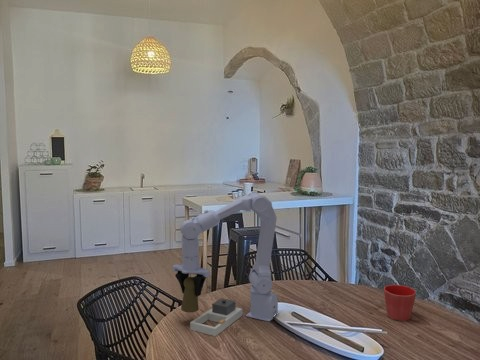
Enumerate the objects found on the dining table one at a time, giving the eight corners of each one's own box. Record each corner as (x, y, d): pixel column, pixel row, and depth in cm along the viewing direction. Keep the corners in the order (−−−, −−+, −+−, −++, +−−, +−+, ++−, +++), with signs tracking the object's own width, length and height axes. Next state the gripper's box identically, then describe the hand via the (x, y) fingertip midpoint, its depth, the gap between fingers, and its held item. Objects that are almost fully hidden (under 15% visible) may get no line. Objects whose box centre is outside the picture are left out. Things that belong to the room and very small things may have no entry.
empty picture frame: (242, 315, 148) (242, 298, 148) (215, 336, 133) (215, 317, 132) (219, 310, 153) (218, 293, 152) (190, 329, 137) (189, 311, 137)
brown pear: (195, 313, 139) (196, 281, 138) (178, 310, 140) (179, 279, 139) (200, 306, 145) (202, 276, 143) (184, 304, 146) (186, 274, 145)
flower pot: (419, 315, 146) (420, 289, 146) (408, 325, 139) (408, 298, 138) (390, 307, 154) (391, 282, 153) (377, 316, 146) (378, 290, 145)
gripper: (166, 255, 141) (167, 294, 142) (201, 261, 133) (202, 301, 135) (179, 250, 147) (180, 287, 148) (213, 255, 139) (214, 294, 141)
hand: (191, 294), depth 142 cm, fingers closed on brown pear, 5 cm apart
